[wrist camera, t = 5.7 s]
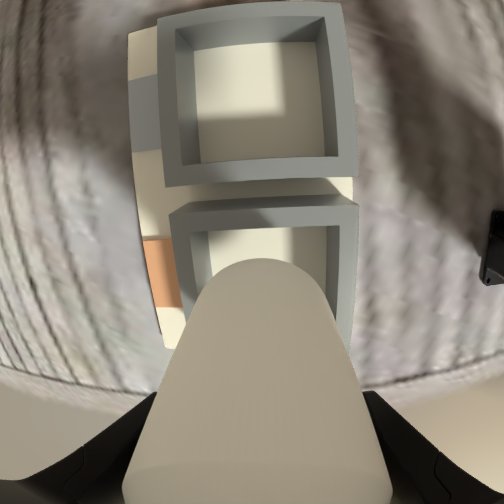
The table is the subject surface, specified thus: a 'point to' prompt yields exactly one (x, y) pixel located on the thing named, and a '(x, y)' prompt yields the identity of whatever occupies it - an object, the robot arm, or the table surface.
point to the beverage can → (259, 402)
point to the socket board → (244, 149)
